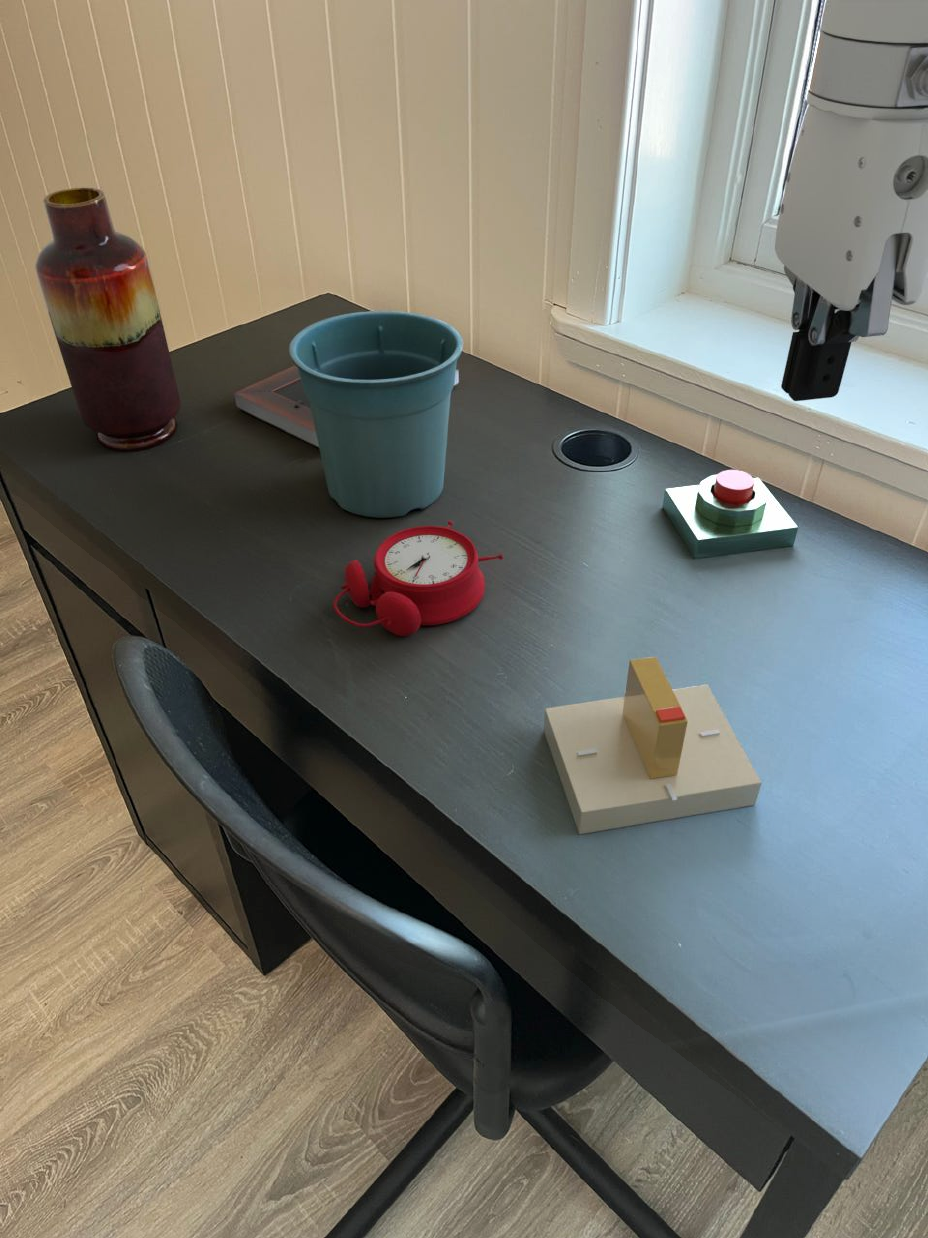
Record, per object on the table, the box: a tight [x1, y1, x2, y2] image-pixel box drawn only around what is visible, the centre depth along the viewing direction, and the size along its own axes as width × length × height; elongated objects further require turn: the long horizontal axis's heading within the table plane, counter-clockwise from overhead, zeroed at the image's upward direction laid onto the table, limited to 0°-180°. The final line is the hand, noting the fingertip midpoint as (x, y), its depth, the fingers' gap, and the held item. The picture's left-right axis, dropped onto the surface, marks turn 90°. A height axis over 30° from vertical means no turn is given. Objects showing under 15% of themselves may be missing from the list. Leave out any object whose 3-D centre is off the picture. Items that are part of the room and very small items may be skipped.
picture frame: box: [233, 364, 460, 448], centre depth 114 cm, size 16×2×22 cm
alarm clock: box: [333, 520, 504, 637], centre depth 84 cm, size 10×6×15 cm
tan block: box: [623, 656, 688, 779], centre depth 67 cm, size 6×2×6 cm, turn 10°
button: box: [713, 469, 755, 504], centre depth 91 cm, size 4×4×2 cm
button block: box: [662, 474, 799, 560], centre depth 92 cm, size 10×9×4 cm
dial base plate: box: [543, 684, 762, 835], centre depth 69 cm, size 13×11×3 cm
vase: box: [34, 187, 181, 452], centre depth 101 cm, size 11×11×26 cm
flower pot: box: [288, 310, 464, 519], centre depth 95 cm, size 16×16×16 cm
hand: (808, 392), depth 61 cm, fingers closed
